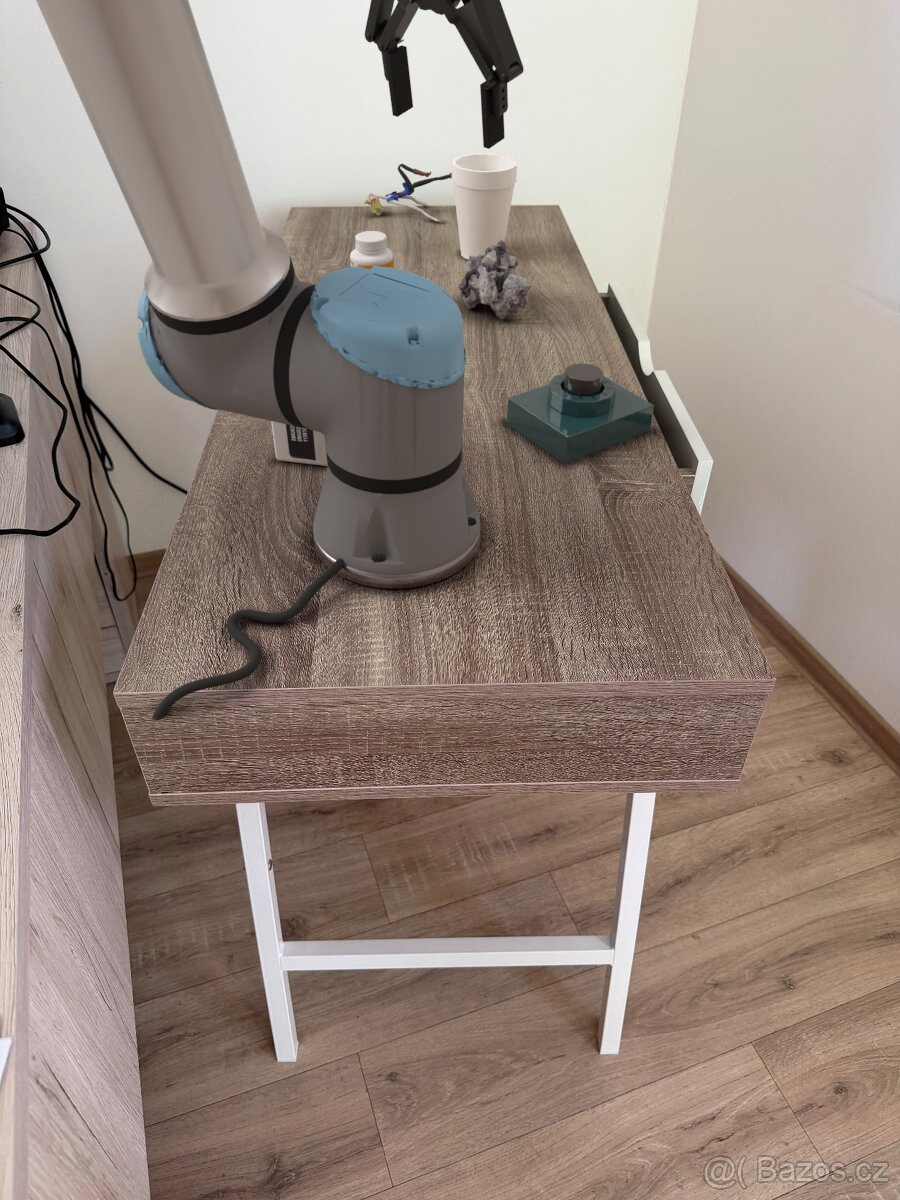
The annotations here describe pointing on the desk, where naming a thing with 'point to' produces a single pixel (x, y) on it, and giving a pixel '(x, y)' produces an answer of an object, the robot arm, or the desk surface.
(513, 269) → the mineral specimen
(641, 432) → the teal button base
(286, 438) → the container
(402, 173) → the figurine
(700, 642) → the desk surface
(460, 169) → the foam cup
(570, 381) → the push button
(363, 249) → the supplement bottle
